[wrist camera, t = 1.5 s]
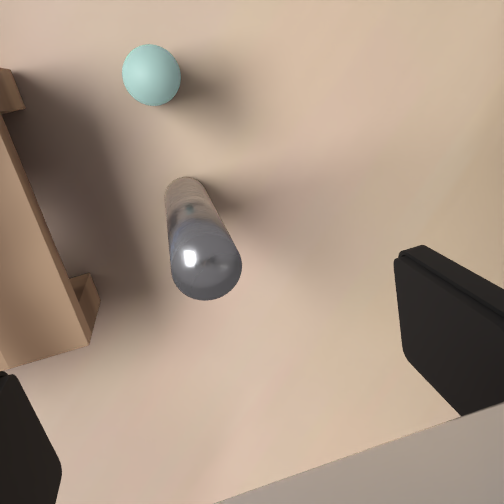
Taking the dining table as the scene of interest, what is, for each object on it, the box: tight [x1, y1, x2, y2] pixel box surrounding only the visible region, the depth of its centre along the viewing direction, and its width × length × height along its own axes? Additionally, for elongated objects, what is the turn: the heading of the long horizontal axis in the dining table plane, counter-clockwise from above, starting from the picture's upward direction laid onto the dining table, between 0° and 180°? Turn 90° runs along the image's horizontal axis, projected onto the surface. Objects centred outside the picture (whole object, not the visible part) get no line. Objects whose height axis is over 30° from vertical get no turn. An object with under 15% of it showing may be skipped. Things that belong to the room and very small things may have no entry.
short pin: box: [122, 44, 181, 106], centre depth 23 cm, size 3×3×5 cm
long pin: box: [165, 177, 242, 300], centre depth 22 cm, size 3×3×12 cm
